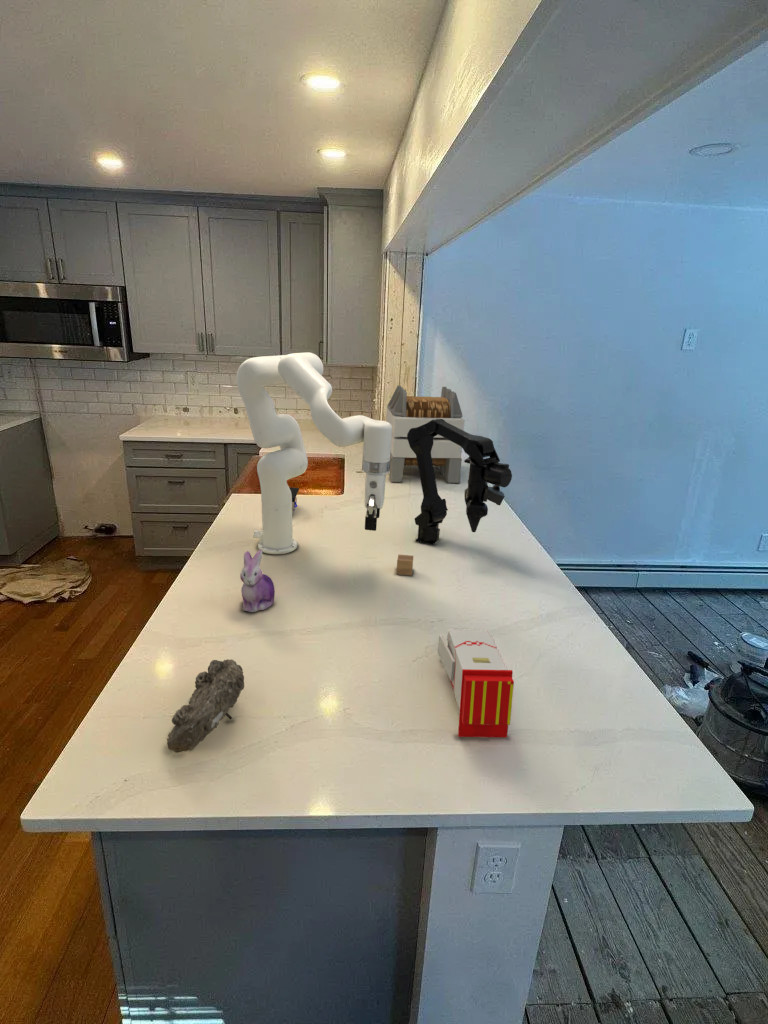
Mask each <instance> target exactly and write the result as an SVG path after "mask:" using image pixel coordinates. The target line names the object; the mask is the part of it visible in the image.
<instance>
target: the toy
mask: <svg viewBox="0 0 768 1024" xmlns="http://www.w3.org/2000/svg"><path fill="white" fill-rule="evenodd" d="M446 640H447V643H446V641H445V639H444V636H443V635H442V634H439V637H438V646H437V656H438V657H439V659H440V661H441V663H442V666H443V668H444V670H445V672H446V674H447V677H448V679H449V681H450V684H451V687H452V690H453V693H454V697H455V701H456V705H457V708H458V711H459V714H458V715H459V716H458V730H457V731H458V732H457V737H458V738H508V731H509V726H510V725H511V717H512V707H513V697H514V696H513V695H514V684H515V680H514V679H513V673H514V671H513V670H512V669H508V667H507V665H506V662H505V661H504V659H503V658H502V655H501V653H500V651H499V649H498V647H497V643H496V639H495V637H494V635H493V634H491V632H490V631H489V629H467V628H466V629H465V628H463V629H461V628H460V629H459V628H448V630H447V639H446Z"/></svg>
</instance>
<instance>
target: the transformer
mask: <svg viewBox="0 0 768 1024" xmlns="http://www.w3.org/2000/svg"><path fill="white" fill-rule="evenodd" d="M440 393H441V394H440V396H415V395H414V396H413V395H412V396H411V395H407V394H408V393H407V390H406V389H404V388H403V387H402V385H399V384H398V385H397V386H396V388H395V390H394V392H393V394H392V395H391V398H390V400H389V402H388V404H387V405H386V413H385V414H386V415H385V421H386V422H388V423H390V424H391V426H392V437H391V451H390V465H389V475H388V476H389V477H388V478H389V480H390V482H391V483H402V482H403V475H404V469H405V466H406V467H407V466H411V467H412V466H413V467H415V466H416V467H418V463H417V457H416V454H415V453H414V452H413V451H412V449H411V448H410V445H409V442H408V439H407V433H408V432H409V430H410V429H411V428H416V427H419V426H422V425H424V424H426V423H428V422H430V421H431V420H435V419H443V420H445V422H447V423H449V424H451V425H453V426H455V427H457V428H459V429H461V430H463V431H465V430H464V429H465V419H464V418H463V411H462V408H461V405H460V402H459V398H458V395H457V392H455V391H453V390H452V389H451V388H447V386H442V387H441V392H440ZM462 453H463V448H462V447H461V446H459V445H457V444H455V443H454V442H452V441H450V440H448V439H446V438H444V437H442V436H440V435H439V434H438V435H436V436H435V437H433V446H432V450H431V457H432V463H433V467H436V468H437V470H438V469H439V473H440V474H441V475H443V478H444V479H445V481H446V482H447V483H449V484H455V483H456V484H459V483H461V472H462V461H463V460H462Z"/></svg>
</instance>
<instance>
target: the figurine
mask: <svg viewBox="0 0 768 1024" xmlns="http://www.w3.org/2000/svg"><path fill="white" fill-rule="evenodd" d="M262 558H263V552H262V550H259V549H258V551H256V553H255V554H254V555H253V557H252V555H251V553H250V551H249V550H246V551H244V554H243V567H242V569H241V572H240V574H239V575H240V576H239V577H240V580H241V582H242V586H241V589H240V593H241V598H242V610H243V611H244V612H250V613H255V612H258V611H264V610H266V609H268V608H270V607H271V606H272V605H274V602H275V595H276V594H275V593H276V590H275V583H274V582H273V580H272V577H270V576H269V575H267V574H265V573H263V570H262V568H261V562H262Z"/></svg>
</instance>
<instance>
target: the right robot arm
mask: <svg viewBox="0 0 768 1024" xmlns="http://www.w3.org/2000/svg"><path fill="white" fill-rule="evenodd" d="M438 434H439V435H440V436H442V437H444V438H446V439H448V440H450V441H452V442H454V443H455V444H457V445H459V446H461V447H462V451H463V452H464V453H465V454H466V455H467V456H468V457H467V458H465V459H464V460H463V462H464V463H466V464H468V465H469V470H468V479H467V487H466V489H464V495H463V496H464V503H465V514H466V517H467V520H468V525H469V527H470V531H471V532H472V533H476V532H477V530H478V526H479V524H480V521H481V520H482V518H484V517H486V516H488V514H489V513H488V512H489V508H488V507H489V506H488V505H487V504H486V503H487V502H488V501H489V502H492V503H494V504H496V505H497V506H501V505H502V502H503V501H504V499H505V497H506V496H505V493H504V492H503V491H502V490H501V488H507V487H508V486H509V485H510V483H511V481H512V479H513V473H512V470H511V469H510V464H508V463H502V462H501V459H500V457H499V455H498V453H497V450H496V448H495V445H494V441H493V440H492V439H491V438H490V437H486V436H482V435H478V434H477V435H475V434H471V433H469V432H467V431H465V430H464V431H463V430H461V429H459V428H457V427H455V426H453V425H451V424H449V423H447V422H445V420H443V419H435V420H431V421H430V422H428V423H426V424H424V425H422V426H419V427H416V428H411V429H410V430H409V432H408V433H407V439H408V442H409V445H410V448H411V449H412V451H413V452H414V453H415V454H416V457H417V463H418V466H417V468H418V474H419V480H420V485H421V491H422V496H423V498H422V501H421V504H420V513H419V514H418V515H417V516H416V517H414V523H415V525H416V526H418V527H417V538H416V539H415V542H417V543H421V544H425V545H430V546H435V544H436V543H437V542H438V541H439V540H440V532H441V528H439V526H440V524H442V523H443V521H444V520H445V518H446V516H447V515H448V511H449V509H448V506H447V500H446V498H442V497H441V496H440V495H439V491H438V486H437V485H438V484H437V480H436V476H435V470H434V469H435V468H434V466H433V463H432V457H431V450H432V446H433V437H435V436H436V435H438ZM488 484H490V485H493V486H489V485H488Z"/></svg>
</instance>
